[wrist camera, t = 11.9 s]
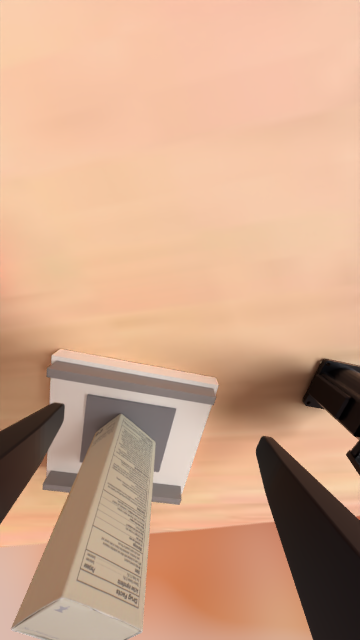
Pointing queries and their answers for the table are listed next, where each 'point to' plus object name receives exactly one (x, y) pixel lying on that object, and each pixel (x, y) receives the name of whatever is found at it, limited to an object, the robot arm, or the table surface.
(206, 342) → the table surface
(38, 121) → the table surface
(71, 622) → the skincare box
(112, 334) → the table surface
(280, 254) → the table surface
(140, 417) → the stand
